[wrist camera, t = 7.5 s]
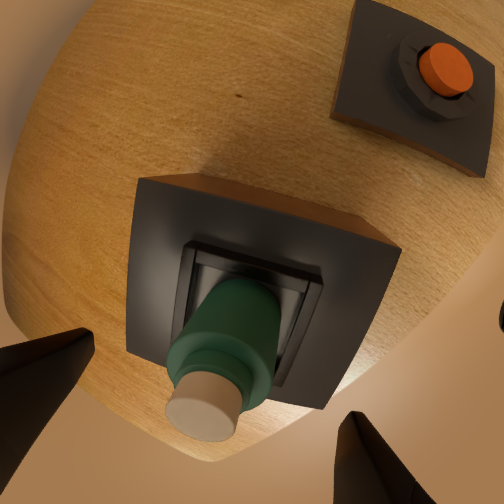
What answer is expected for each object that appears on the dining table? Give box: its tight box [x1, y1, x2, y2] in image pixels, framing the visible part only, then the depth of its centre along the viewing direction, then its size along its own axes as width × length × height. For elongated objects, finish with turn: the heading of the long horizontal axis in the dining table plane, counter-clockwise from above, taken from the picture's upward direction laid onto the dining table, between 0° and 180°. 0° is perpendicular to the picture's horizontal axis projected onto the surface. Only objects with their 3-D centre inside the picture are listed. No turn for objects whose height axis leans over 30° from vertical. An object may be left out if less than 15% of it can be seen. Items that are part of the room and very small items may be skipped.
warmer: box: [126, 173, 402, 410], centre depth 16 cm, size 12×10×9 cm
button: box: [419, 43, 473, 97], centre depth 10 cm, size 3×3×2 cm
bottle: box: [165, 279, 281, 442], centre depth 10 cm, size 4×4×6 cm
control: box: [329, 0, 495, 178], centre depth 13 cm, size 12×10×4 cm
